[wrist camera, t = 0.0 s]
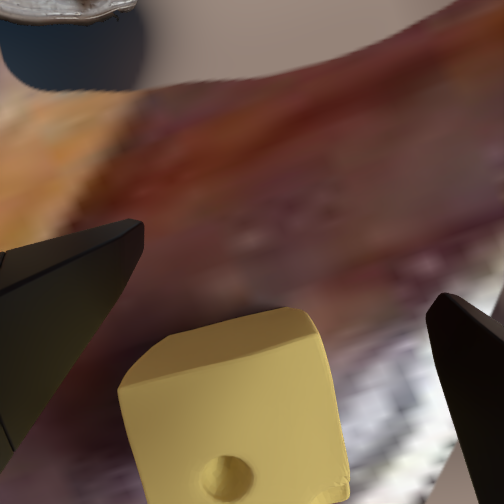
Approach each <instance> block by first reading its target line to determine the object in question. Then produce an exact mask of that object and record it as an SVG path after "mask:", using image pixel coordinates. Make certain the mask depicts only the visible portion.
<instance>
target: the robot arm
mask: <svg viewBox="0 0 504 504" xmlns="http://www.w3.org/2000/svg"><path fill="white" fill-rule="evenodd" d="M143 249H144V224H143V222H142V221H138V220H134V219H125V220H122V221H118V222H114V223H110V224H106V225H103V226H99V227H95V228H91V229H87V230H84V231H80V232H76V233H72V234H68V235H65V236H61V237H57V238H53V239H49V240H45V241H42V242H38V243H34V244H30V245H26V246H23V247H19V248H15V249H11V250H7V251H6V253H5V252H0V474H1V472H2V471H3V469H4V468H5V466H6V465H7V463H8V462H9V460H10V459H11V457H12V456H13V454H14V453H13V452H14V451H16V449H17V448H18V446H19V445H20V443H21V442H22V441H23V439H24V438H25V436H26V435H27V433H28V432H29V430H30V429H31V427H32V426H33V424H34V423H35V421H36V420H37V418H38V417H39V415H40V414H41V412H42V411H43V409H44V408H45V407H46V405H47V404H48V402H49V401H50V399H51V398H52V396H53V395H54V393H55V392H56V390H57V389H58V387H59V386H60V384H61V383H62V381H63V380H64V378H65V377H66V375H67V374H68V372H69V371H70V370H71V368H72V367H73V365H74V364H75V362H76V361H77V359H78V358H79V356H80V355H81V353H82V352H83V350H84V349H85V347H86V346H87V344H88V343H89V341H90V340H91V338H92V337H93V335H94V334H95V333H96V331H97V330H98V328H99V327H100V325H101V324H102V322H103V321H104V319H105V318H106V316H107V315H108V313H109V312H110V310H111V309H112V307H113V306H114V304H115V303H116V301H117V300H118V298H119V297H120V295H121V294H122V292H123V290H124V288H125V286H126V284H127V282H128V280H129V278H130V276H131V274H132V272H133V270H134V269H135V267H136V265H137V263H138V261H139V259H140V257H141V255H142V252H143ZM426 324H427V329H428V334H429V339H430V344H431V349H432V354H433V359H434V363H435V367H436V370H437V374H438V377H439V380H440V383H441V386H442V389H443V393H444V396H445V399H446V402H447V405H448V408H449V411H450V415H451V418H452V421H453V424H454V427H455V430H456V434H457V437H458V440H459V443H460V446H461V449H462V452H463V456H464V459H465V462H466V465H467V468H468V471H469V474H470V478H471V481H472V484H473V487H474V490H475V493H476V496H477V500H478V503H479V504H504V326H503V325H501V324H500V323H499V322H497V321H495V320H494V319H492V318H491V317H489V316H488V315H486V314H485V313H483V312H482V311H480V310H479V309H477V308H476V307H474V306H473V305H471V304H470V303H468V302H467V301H465V300H464V299H462V298H461V297H459V296H457V295H454V294H450V293H441V294H440V295H439V296H438V297H437V298H436V300H435V301H434V303H433V304H432V305H431V307H430V308H429V310H428V311H427V313H426Z"/></svg>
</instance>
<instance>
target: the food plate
mask: <svg viewBox="0 0 504 504" xmlns="http://www.w3.org/2000/svg"><path fill="white" fill-rule="evenodd" d="M137 1H138V0H0V20H5V21H9V22H12V23H17V25H18V24H19V25H27V26H28V25H31V26H44V25H50V24H51V25H53V24H74V25H82V26H84V25H85V26H88V25H92V24H93V23H95V22H99V21H100V22H104V20H105V21H106V20H107V19H109V18H111V17H112V16H113V17H115V18H117V21H118V20H119V17H117V15H115V14H113V12H114V11H115V10H118V11H120V12H122V13H123V12H126V13H127V12H128V11H131V10H132V9H134V7H135V5H136V4H137Z"/></svg>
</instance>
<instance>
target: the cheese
mask: <svg viewBox="0 0 504 504" xmlns="http://www.w3.org/2000/svg"><path fill="white" fill-rule="evenodd" d="M117 392H118V398H119V403H120V407H121V412H122V416H123V420H124V424H125V428H126V432H127V436H128V439H129V442H130V446H131V449H132V452H133V455H134V459H135V462H136V465H137V468H138V471H139V475H140V478H141V482H142V485H143V488H144V492H145V496H146V499H147V503H148V504H332V503H336V502H341V501H345V500H347V499H348V498H349V495H350V487H349V481H350V469H349V463H348V457H347V453H346V448H345V443H344V439H343V434H342V429H341V424H340V419H339V414H338V408H337V402H336V396H335V391H334V385H333V380H332V375H331V371H330V367H329V363H328V360H327V356H326V352H325V349H324V346H323V343H322V340H321V337H320V334H319V332H318V330H317V328H316V327H315V325H314V323H313V321H312V320H311V318H310V317H309V315H308V314H307V313H306V312H304V311H303V310H300V309H294V308H289V307H283V308H279V309H274V310H270V311H265V312H261V313H256V314H252V315H247V316H243V317H239V318H235V319H231V320H227V321H223V322H220V323H216V324H212V325H208V326H205V327H201V328H197V329H194V330H189V331H185V332H181V333H177V334H173V335H169V336H167V337H166V338H164V339H163V340H161V341H160V342H158V343H157V344H155V345H154V346H153V347H152V348H150V349H149V350H148V351H147V352H146V353H145V354H144V355H143V356H142V357H141V358H140V359H139V360H138V361H137V362H136V363H135V364H134V365H133V366H132V367H131V368H130V369H129V370H128V372H127V373H126V374H125V376H124V378H123V380H122V382H121V384H120V385H119V387H118V391H117Z"/></svg>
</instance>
